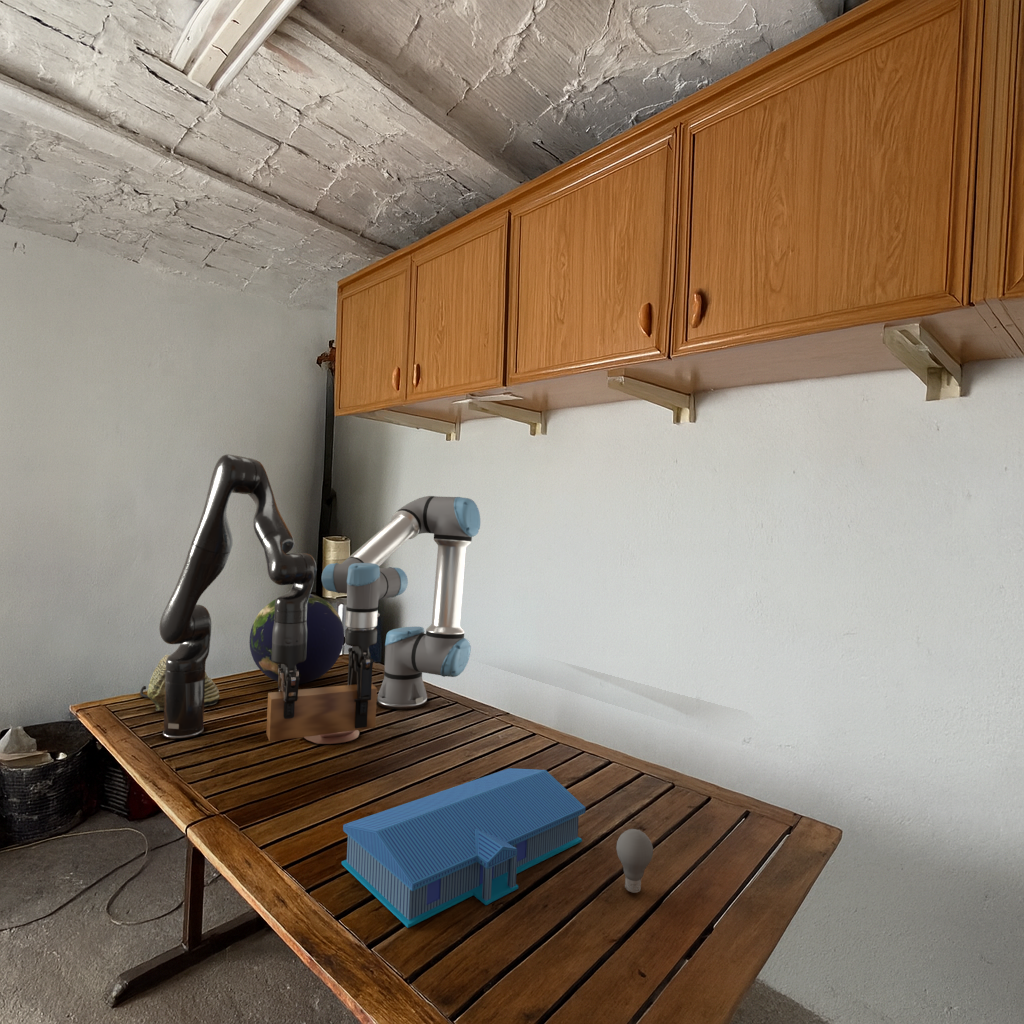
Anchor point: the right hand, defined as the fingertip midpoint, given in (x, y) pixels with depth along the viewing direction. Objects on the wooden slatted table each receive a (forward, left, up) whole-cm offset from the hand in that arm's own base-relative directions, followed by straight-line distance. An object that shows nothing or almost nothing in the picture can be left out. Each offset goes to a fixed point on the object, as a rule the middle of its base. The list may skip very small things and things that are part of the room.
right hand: (357, 723), depth 153 cm
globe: (-55, -39, -9) cm, 68 cm away
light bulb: (+43, +62, -9) cm, 76 cm away
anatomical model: (-12, -11, -9) cm, 19 cm away
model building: (+37, +34, -9) cm, 51 cm away
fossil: (-27, -61, -9) cm, 67 cm away
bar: (+5, -7, -1) cm, 8 cm away
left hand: (+9, -14, +4) cm, 17 cm away
